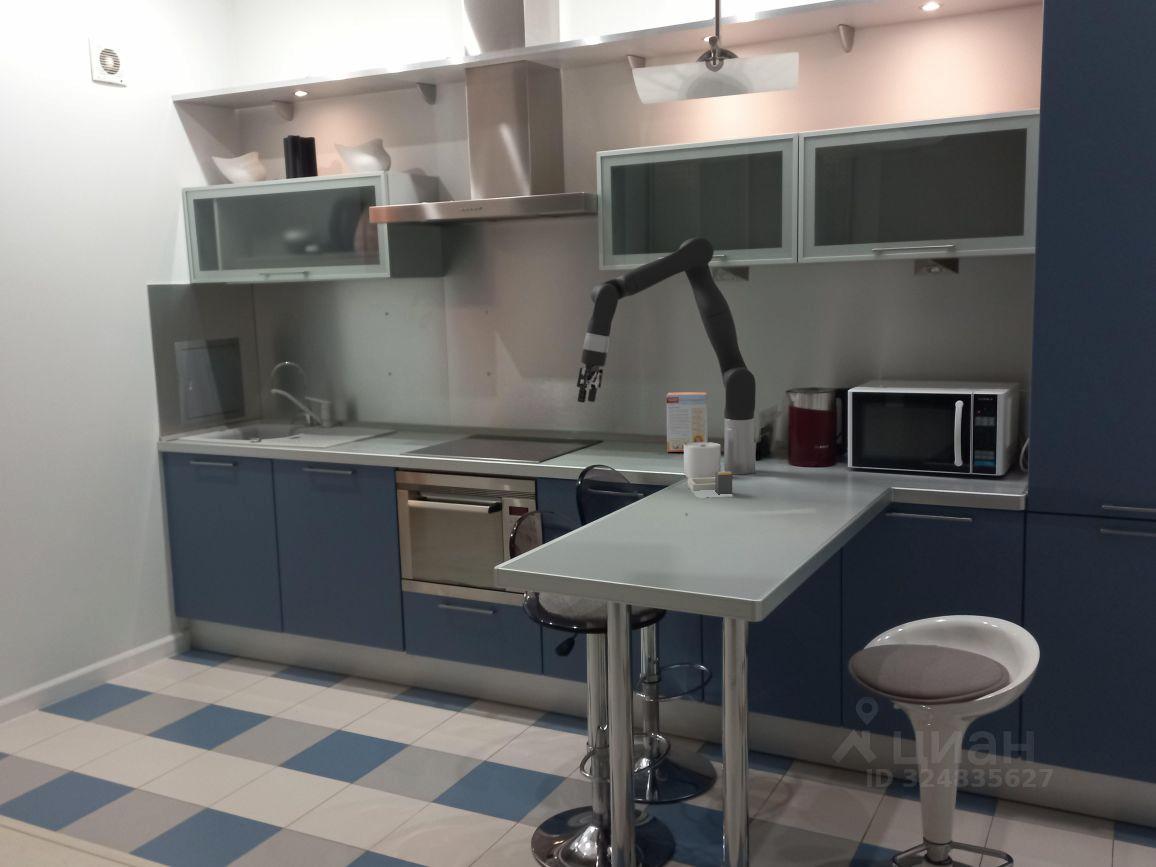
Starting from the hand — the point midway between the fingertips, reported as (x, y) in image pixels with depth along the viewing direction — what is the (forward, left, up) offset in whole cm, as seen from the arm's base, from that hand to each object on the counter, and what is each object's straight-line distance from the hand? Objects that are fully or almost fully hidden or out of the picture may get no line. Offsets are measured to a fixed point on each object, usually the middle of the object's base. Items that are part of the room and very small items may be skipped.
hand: (586, 401), depth 315 cm
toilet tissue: (-35, +1, -25) cm, 43 cm away
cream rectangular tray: (-33, +25, -25) cm, 48 cm away
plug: (-36, +30, -24) cm, 52 cm away
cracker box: (-38, -41, -25) cm, 62 cm away
